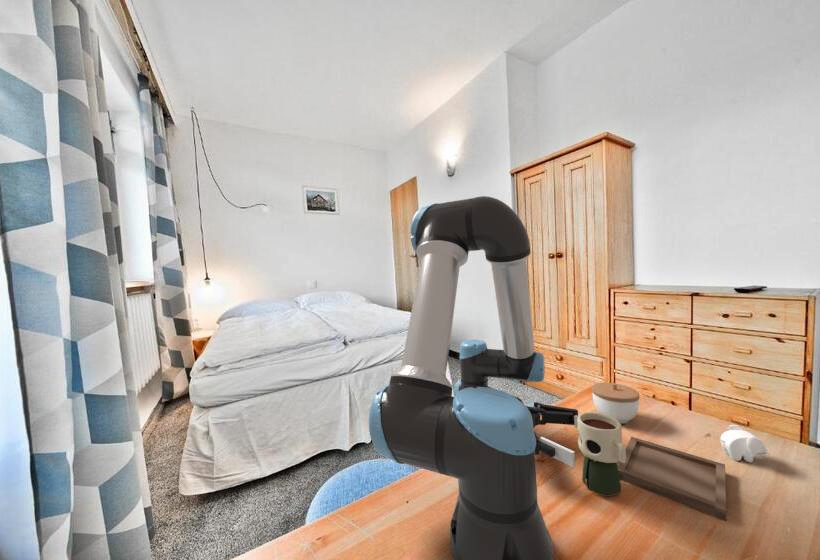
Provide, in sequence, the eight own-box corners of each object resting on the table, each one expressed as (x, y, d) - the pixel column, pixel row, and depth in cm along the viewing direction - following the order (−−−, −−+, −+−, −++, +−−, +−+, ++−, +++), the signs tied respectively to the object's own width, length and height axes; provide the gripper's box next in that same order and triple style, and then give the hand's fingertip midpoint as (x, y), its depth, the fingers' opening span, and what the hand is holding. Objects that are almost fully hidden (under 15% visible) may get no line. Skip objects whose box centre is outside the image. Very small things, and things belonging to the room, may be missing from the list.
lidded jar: (650, 427, 76) (649, 391, 76) (608, 429, 76) (607, 393, 76) (621, 407, 87) (620, 375, 86) (584, 409, 87) (583, 377, 87)
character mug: (565, 471, 62) (562, 410, 61) (594, 465, 63) (592, 405, 63) (609, 513, 51) (606, 439, 51) (643, 504, 52) (641, 432, 52)
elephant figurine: (781, 471, 58) (780, 442, 58) (728, 465, 61) (727, 437, 61) (754, 451, 65) (754, 424, 64) (707, 446, 67) (707, 420, 67)
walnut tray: (726, 521, 48) (726, 510, 48) (616, 478, 59) (615, 469, 59) (725, 473, 59) (724, 464, 59) (631, 444, 69) (631, 436, 69)
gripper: (532, 407, 84) (618, 440, 66) (469, 440, 70) (558, 493, 52) (531, 381, 83) (617, 407, 66) (467, 408, 69) (556, 451, 52)
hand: (591, 445), depth 59 cm, fingers open, 13 cm apart
